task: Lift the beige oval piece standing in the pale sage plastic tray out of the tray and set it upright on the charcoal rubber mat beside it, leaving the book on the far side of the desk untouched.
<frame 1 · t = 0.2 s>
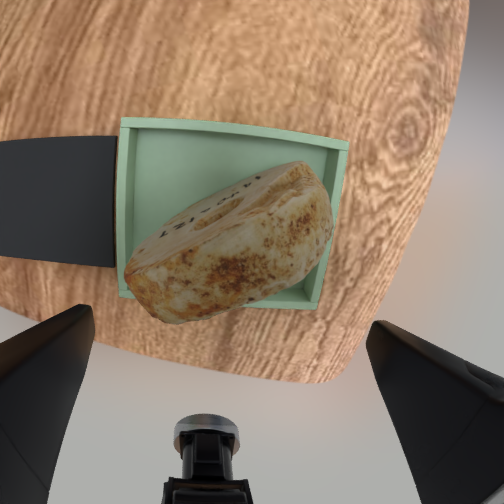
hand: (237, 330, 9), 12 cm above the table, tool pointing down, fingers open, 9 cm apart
beige oval piece: (225, 212, 20), resting on tray
mat: (41, 200, 18), on the table
tray: (225, 211, 20), on the table
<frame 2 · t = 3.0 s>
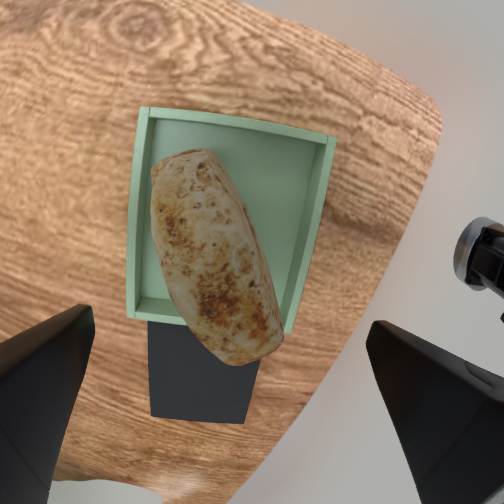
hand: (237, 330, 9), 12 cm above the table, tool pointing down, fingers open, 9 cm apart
beige oval piece: (221, 222, 20), resting on tray
mat: (201, 376, 25), on the table
tray: (221, 221, 20), on the table
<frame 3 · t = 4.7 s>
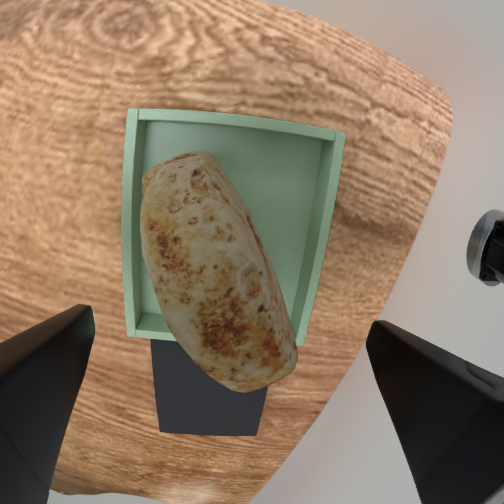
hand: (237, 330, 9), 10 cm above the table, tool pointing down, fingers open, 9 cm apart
beige oval piece: (224, 230, 18), resting on tray
mat: (210, 390, 23), on the table
tray: (223, 228, 19), on the table
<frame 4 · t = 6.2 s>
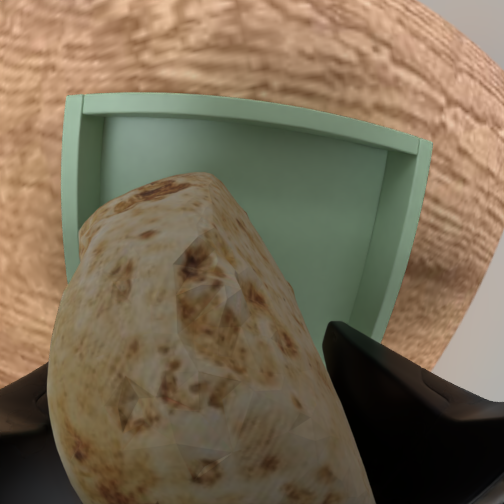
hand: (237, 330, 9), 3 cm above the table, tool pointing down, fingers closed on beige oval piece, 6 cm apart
beige oval piece: (232, 291, 12), resting on tray, touching gripper
tray: (232, 286, 12), on the table
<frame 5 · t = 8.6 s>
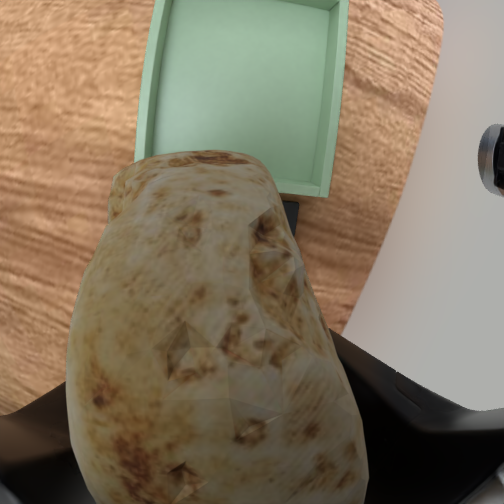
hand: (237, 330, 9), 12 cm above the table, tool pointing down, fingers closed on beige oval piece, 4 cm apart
beige oval piece: (228, 279, 12), point 9 cm above the table, touching gripper
mat: (221, 281, 22), on the table
tray: (241, 79, 17), on the table
when the fingers open (3 cm above the table, at t = 11.3 s): beige oval piece stays where it is, resting on mat.
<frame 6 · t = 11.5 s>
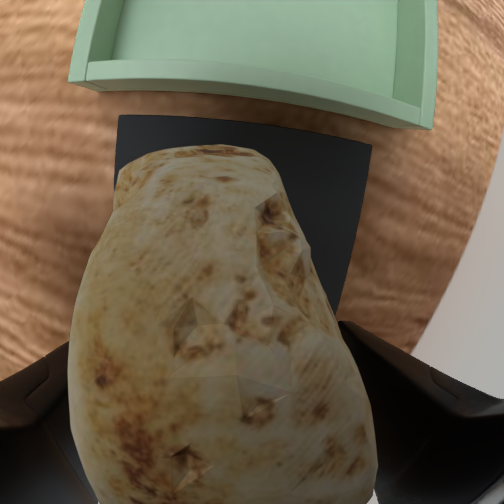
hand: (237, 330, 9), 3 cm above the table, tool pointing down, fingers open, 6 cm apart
beige oval piece: (231, 279, 12), resting on mat
mat: (231, 283, 12), on the table
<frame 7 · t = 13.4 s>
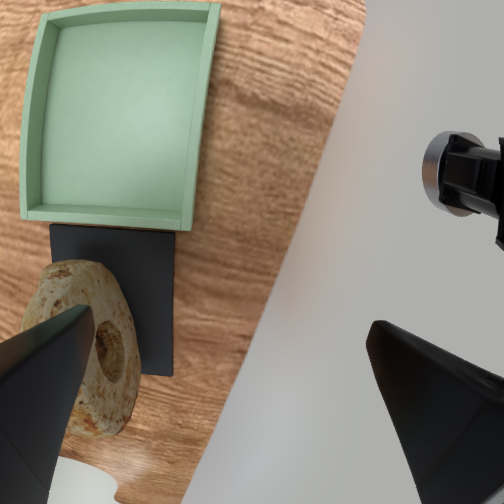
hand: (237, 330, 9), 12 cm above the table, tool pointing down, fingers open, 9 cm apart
beige oval piece: (111, 305, 21), resting on mat
mat: (112, 306, 21), on the table
tray: (115, 111, 16), on the table
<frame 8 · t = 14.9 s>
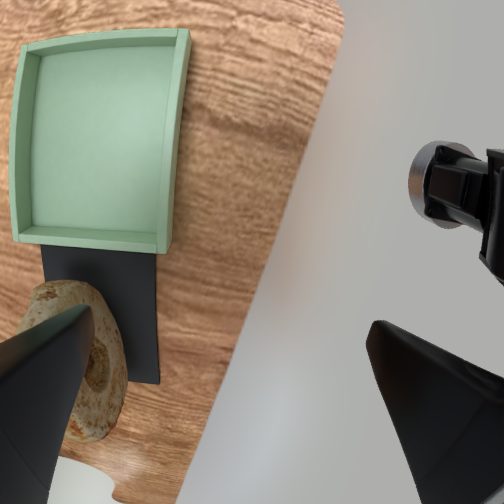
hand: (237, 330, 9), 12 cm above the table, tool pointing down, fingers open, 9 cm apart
beige oval piece: (100, 318, 22), resting on mat
mat: (101, 320, 22), on the table
tray: (95, 137, 17), on the table
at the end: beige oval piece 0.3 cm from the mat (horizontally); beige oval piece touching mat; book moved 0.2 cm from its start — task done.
